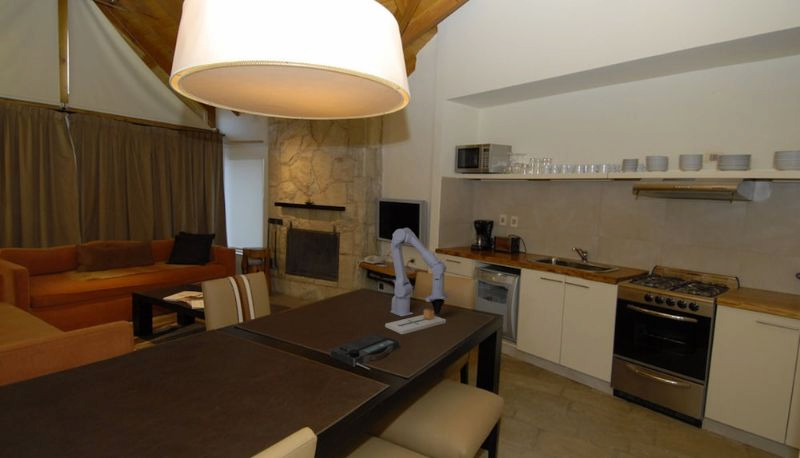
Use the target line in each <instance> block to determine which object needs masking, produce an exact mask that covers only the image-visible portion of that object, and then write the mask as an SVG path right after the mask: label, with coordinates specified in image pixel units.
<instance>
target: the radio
mask: <svg viewBox="0 0 800 458" xmlns="http://www.w3.org/2000/svg"><path fill="white" fill-rule="evenodd" d="M399 348H400V340H398V339H394V338H391V337H389V336H385V335H383V334H381V333H378V332H377V333H376V332H375V333H373V334H369V335H366V336H364V337H360V338H358V339H355V340H352V341H349V342H347V343H344V344H341V345H338V346H336V347H333V348H330V350H329V355H330V357H331V358H333V359H336V360H338V361H340V362H343V363H344V364H347V365H349V366H350V367H351V366H352V367H356V366H359V367H362V368H364V369H366V370H370V368H369V367H367V366H365V365H363V364H365V363H368V362H371V361H377V360H381V359H383V358H384V357H386V356H387V355H388V354H389V353H391V352H393V351H395V350H397V349H399Z"/></svg>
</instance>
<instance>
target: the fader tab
mask: <svg viewBox="0 0 800 458" xmlns="http://www.w3.org/2000/svg"><path fill="white" fill-rule="evenodd" d="M423 315H424V316H423V317H425V318H427V319H432V318H434V316H435V312H434V309H431V308H427V307H425V309H423Z"/></svg>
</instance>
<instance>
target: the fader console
mask: <svg viewBox="0 0 800 458" xmlns="http://www.w3.org/2000/svg"><path fill="white" fill-rule="evenodd" d="M423 316H424V314H421V315H417V316H413V317H408V318H404V319H400V320H395V321H391V322H387V323H385V325H384V327H385V328H387V329H390V331H391V330H392V331H394V332H396V333H398V334H399V335H406V334H409V333H414V332H417V331H420V330H424V329H428V328H431V327H435V326H439V325H443V324H446V323H447V319H445V318H442V317H439V316H437V315H434V318H432V319H427V318H425V317H423Z"/></svg>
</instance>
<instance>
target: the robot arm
mask: <svg viewBox="0 0 800 458" xmlns="http://www.w3.org/2000/svg"><path fill="white" fill-rule="evenodd" d="M406 243H407V244H410V245H412V246H413V247H414V249H416V250H417V251H418V253H420V255H421V256H422V257H421V259H422V260H423V261H424V262H425V263H426V264H427V266H428V267H429V268H430V271H431V273H432V286H431V287H432V288H431V289H432V290H431V294H430V295H429V296H427V297H425V302H427V303H431V305H432V307H433V311H434V315H436V316H437V315H438V316H439V315H440V313H441V310H442V308H443V305H444V303H445V302H446V301H445V299H449V298H450V293H447V292H446V293H445V273H446V271H447V265H446V263H445V262H443V261H441V259H439V258H438V257H437V256H436V255H435V252H434V251H432V250H428V249H427V248H426V246H424V245H423V243H422V242H421V240H419V238H418V236H416V234H415V232H413V231H412V230H411V229H410V228H409V227H404V228H398V229H396V230H395V231H394V232H393V233H392V239H391V242H390V251H391V255H392V261H393V266H394V273H395V282H394V290H393V292H394V295H393V297H392V299H391V310H390V311H389V312H390V313H392V314H394V315H396V316H400V317H405V316H406V317H407V316H411V315H413V314H414V313H413V312H411V310H410V307H411V293H412V292H413V285H412V284H411V282H410V279H409V278H408V277H407V271H406V265H405V260H404V254H403V249H402V248H403V246H404V244H406Z"/></svg>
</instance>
